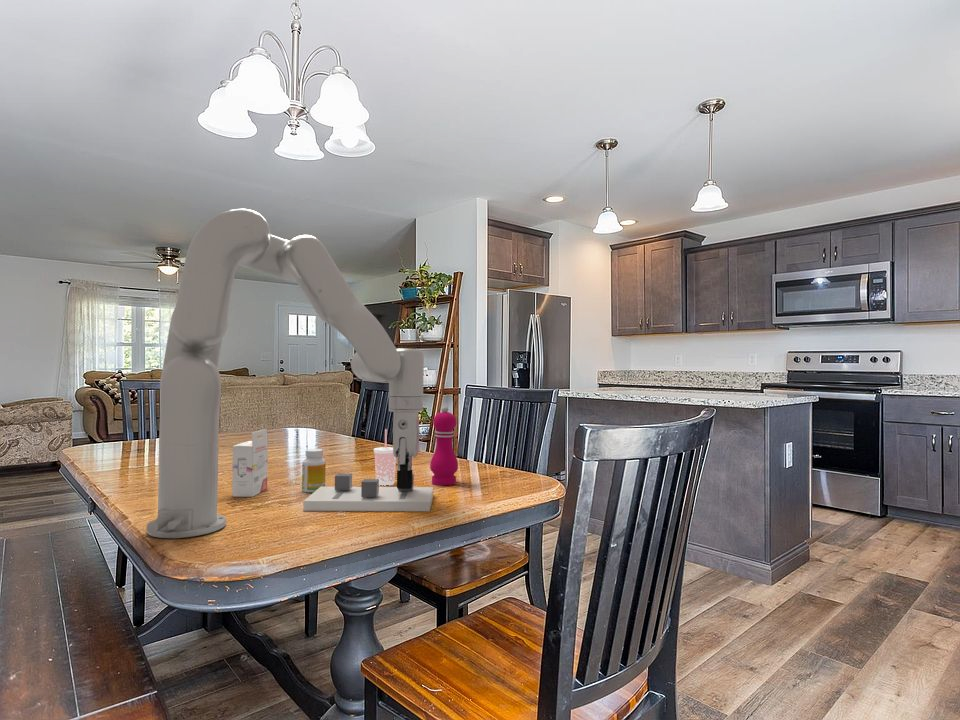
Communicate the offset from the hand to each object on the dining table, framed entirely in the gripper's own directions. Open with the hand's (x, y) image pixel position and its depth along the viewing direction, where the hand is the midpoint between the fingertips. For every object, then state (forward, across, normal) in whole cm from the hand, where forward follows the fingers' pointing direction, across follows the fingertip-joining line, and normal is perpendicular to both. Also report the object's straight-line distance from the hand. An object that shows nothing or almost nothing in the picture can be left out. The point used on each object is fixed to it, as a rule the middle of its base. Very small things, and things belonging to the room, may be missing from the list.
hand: (404, 487), depth 120 cm
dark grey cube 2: (+1, -3, +7) cm, 8 cm away
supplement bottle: (+4, +12, +23) cm, 26 cm away
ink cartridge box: (+4, +9, +37) cm, 38 cm away
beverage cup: (+4, +20, +7) cm, 22 cm away
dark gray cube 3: (+1, +3, 0) cm, 4 cm away
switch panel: (+3, 0, +7) cm, 8 cm away
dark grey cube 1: (+1, +3, +14) cm, 14 cm away
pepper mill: (+4, +21, -8) cm, 23 cm away
